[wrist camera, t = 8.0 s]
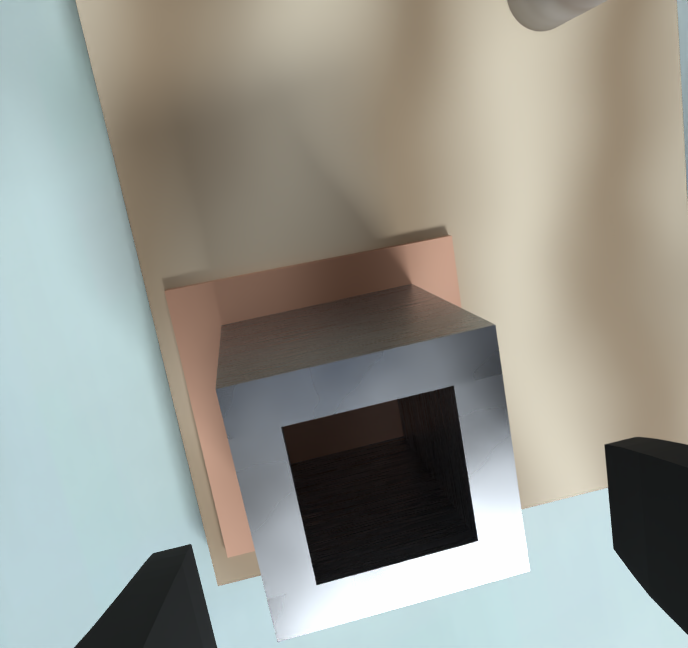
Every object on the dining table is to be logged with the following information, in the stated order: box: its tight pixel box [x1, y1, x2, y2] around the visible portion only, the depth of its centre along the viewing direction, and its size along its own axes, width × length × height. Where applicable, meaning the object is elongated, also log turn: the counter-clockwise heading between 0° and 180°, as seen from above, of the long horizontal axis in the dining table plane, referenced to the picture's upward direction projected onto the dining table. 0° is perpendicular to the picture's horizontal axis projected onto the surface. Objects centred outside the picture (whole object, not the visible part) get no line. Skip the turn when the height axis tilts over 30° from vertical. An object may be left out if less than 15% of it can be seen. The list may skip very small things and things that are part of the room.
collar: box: [216, 284, 530, 642], centre depth 16 cm, size 5×5×6 cm
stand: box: [76, 0, 688, 586], centre depth 17 cm, size 16×20×6 cm
